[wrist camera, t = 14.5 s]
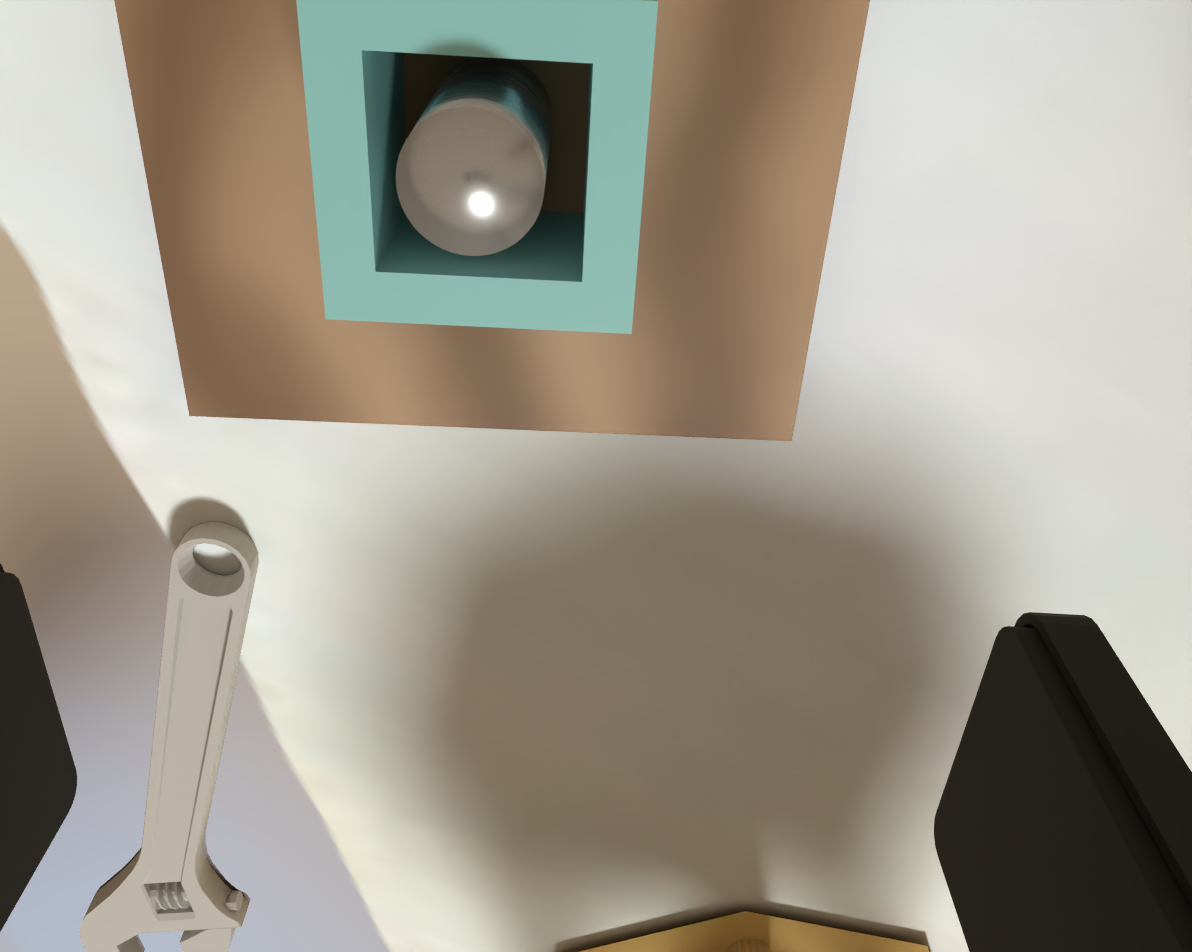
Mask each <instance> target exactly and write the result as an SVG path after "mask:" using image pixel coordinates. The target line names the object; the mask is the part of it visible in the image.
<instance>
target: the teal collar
mask: <svg viewBox="0 0 1192 952" xmlns="http://www.w3.org/2000/svg"><path fill="white" fill-rule="evenodd" d="M296 3H297V14H298V25H299V36H300V47H301V58H302V69H303V80H304V90H305V101H306V112H307V123H308V134H309V145H310V156H311V167H312V177H313V188H314V199H315V210H316V221H317V232H318V243H319V254H320V264H321V275H322V286H323V297H324V308H325V319H328V320H349V321H370V322H391V323H411V324H432V325H453V326H474V327H495V328H516V329H537V330H558V331H579V332H600V333H621V334H632V323H633V311H634V298H635V286H636V273H637V261H638V248H639V236H640V223H641V211H642V198H643V186H644V173H645V161H646V148H647V136H648V123H649V111H650V98H651V86H652V73H653V61H654V48H655V36H656V23H657V11H658V0H296ZM402 53H418V54H436V55H453V56H471V57H488V58H506V59H523V60H541V61H558V62H575V63H590V76H589V97H588V117H587V138H586V158H585V178H584V199H583V214H582V213H563V212H544V211H540V212H539V215H538V217H537V219H536V221H535V223H534V224H533V226H532V227H531V228H530V230H529V231H528V232H527V233H526V234H525V235H524V236H523V238H521V239H520V240H519V241H518V242H516V243H515V244H514V245H512V246H510V247H509V248H507V249H505V250H502V251H500V252H497V253H493V254H490V255H483V256H467V255H460V254H456V253H452V252H449V251H446V250H444V249H442V248H440V247H438V246H436V245H434V244H433V243H431V242H430V241H428V240H427V239H426V238H425V237H423V236H422V235H421V234H420V233H419V232H418V231H417V230H416V229H415V227H414V226H413V225H412V224H411V222H410V221H409V219H408V218H407V216H406V214H405V212H404V211H403V209H402V206H401V203H400V201H399V197H398V193H397V188H396V167H397V161H398V157H399V154H400V151H401V149H402V147H403V145H404V143H405V141H406V125H405V102H404V78H403V55H402Z"/></svg>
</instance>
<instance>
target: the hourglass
mask: <svg viewBox="0 0 1192 952" xmlns="http://www.w3.org/2000/svg"><path fill="white" fill-rule="evenodd" d="M580 952H929V949H928V946H926V945H920V944H915V943H910V942H905V941H899V940H894V939H889V938H884V937H878V936H873V935H868V934H863V933H858V932H852V931H847V930H842V929H837V928H831V927H826V926H821V925H816V924H810V923H805V922H800V921H795V920H789V919H784V918H779V917H774V916H769V915H763V914H758V913H753V912H748V911H744V912H740V913H736V914H732V915H728V916H723V917H719V918H715V919H711V920H707V921H703V922H699V923H695V924H691V925H686V926H682V927H678V928H674V929H670V930H666V931H662V932H658V933H654V934H649V935H645V936H641V937H637V938H633V939H629V940H625V941H621V942H617V943H612V944H608V945H604V946H600V947H596V948H592V949H588V950H584V951H580Z"/></svg>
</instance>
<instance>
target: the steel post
mask: <svg viewBox="0 0 1192 952" xmlns="http://www.w3.org/2000/svg"><path fill="white" fill-rule="evenodd" d="M552 122H553V117H552V107H551V103H550V99H549V96H548V94H547V92H546V89H545V88H544V86H543V84H542V83H541V81H540V80H539V79H538V77H537V76H536V75H535V74H534V73H533V72H532V71H531V70H530V69H529V68H527V67H526V66H525V65H524V64H522V63H520V62H518V61H517V60H514V59H506V58H488V57H471V58H469V59H467V60H464V61H462V62H461V63H459V64H458V65H456V66H455V67H454V68H453V69H452V70H451V71H450V72H449V73H448V74H447V75H446V77H445V78H444V80H443V81H442V83H441V84H440V86H439V88H438V89H437V91H436V92H435V94H434V96H433V97H432V99H431V101H430V102H429V104H428V105H427V107H426V109H425V110H424V112H423V113H422V115H421V117H420V118H419V120H418V122H417V123H416V125H415V126H414V128H413V130H412V131H411V133H410V135H409V136H408V138H407V139H406V141H405V143H404V145H403V147H402V149H401V151H400V154H399V157H398V161H397V167H396V188H397V193H398V197H399V201H400V203H401V206H402V209H403V211H404V212H405V214H406V216H407V218H408V219H409V221H410V222H411V224H412V225H413V226H414V227H415V229H416V230H417V231H418V232H419V233H420V234H421V235H422V236H423V237H425V238H426V239H427V240H428V241H430V242H431V243H433V244H434V245H436V246H438V247H440V248H442V249H444V250H446V251H449V252H452V253H456V254H460V255H467V256H483V255H490V254H493V253H497V252H500V251H502V250H505V249H507V248H509V247H510V246H512V245H514V244H515V243H516V242H518V241H519V240H520V239H521V238H523V236H524V235H525V234H526V233H527V232H528V231H529V230H530V228H531V227H532V226H533V224H534V223H535V221H536V219H537V217H538V215H539V212H540V209H541V206H542V202H543V198H544V189H545V181H546V173H547V165H548V157H549V148H550V140H551V132H552Z"/></svg>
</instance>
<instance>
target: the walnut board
mask: <svg viewBox="0 0 1192 952" xmlns="http://www.w3.org/2000/svg"><path fill="white" fill-rule="evenodd" d="M869 2H870V0H658V11H657V23H656V36H655V48H654V61H653V73H652V86H651V98H650V111H649V123H648V136H647V148H646V161H645V173H644V186H643V198H642V211H641V223H640V236H639V248H638V261H637V273H636V286H635V298H634V311H633V323H632V334H621V333H600V332H579V331H558V330H537V329H516V328H495V327H474V326H453V325H432V324H411V323H391V322H370V321H349V320H328V319H325V308H324V297H323V286H322V275H321V264H320V254H319V243H318V232H317V221H316V210H315V199H314V188H313V177H312V167H311V156H310V145H309V134H308V123H307V112H306V101H305V90H304V80H303V69H302V58H301V47H300V36H299V25H298V14H297V3H296V0H115V6H116V12H117V17H118V23H119V28H120V34H121V39H122V45H123V50H124V56H125V61H126V67H127V72H128V78H129V83H130V89H131V95H132V100H133V106H134V111H135V117H136V122H137V128H138V133H139V139H140V144H141V150H142V155H143V161H144V167H145V172H146V178H147V183H148V189H149V194H150V200H151V205H152V211H153V216H154V222H155V227H156V233H157V239H158V244H159V250H160V255H161V261H162V266H163V272H164V277H165V283H166V288H167V294H168V299H169V305H170V310H171V316H172V322H173V327H174V333H175V338H176V344H177V349H178V355H179V360H180V366H181V371H182V377H183V382H184V388H185V394H186V399H187V405H188V410H189V416H206V417H230V418H254V419H278V420H301V421H325V422H349V423H373V424H397V425H421V426H445V427H469V428H493V429H517V430H541V431H565V432H589V433H613V434H637V435H660V436H684V437H708V438H732V439H756V440H780V441H792V435H793V429H794V424H795V418H796V413H797V407H798V401H799V396H800V390H801V384H802V379H803V373H804V368H805V362H806V356H807V351H808V345H809V339H810V334H811V328H812V323H813V317H814V311H815V306H816V300H817V295H818V289H819V283H820V278H821V272H822V266H823V261H824V255H825V250H826V244H827V238H828V233H829V227H830V221H831V216H832V210H833V205H834V199H835V193H836V188H837V182H838V176H839V171H840V165H841V160H842V154H843V148H844V143H845V137H846V131H847V126H848V120H849V115H850V109H851V103H852V98H853V92H854V86H855V81H856V75H857V70H858V64H859V58H860V53H861V47H862V41H863V36H864V30H865V25H866V19H867V13H868V8H869ZM402 55H403V78H404V102H405V125H406V139H407V138H408V136H409V135H410V133H411V131H412V130H413V128H414V126H415V125H416V123H417V122H418V120H419V118H420V117H421V115H422V113H423V112H424V110H425V109H426V107H427V105H428V104H429V102H430V101H431V99H432V97H433V96H434V94H435V92H436V91H437V89H438V88H439V86H440V84H441V83H442V81H443V80H444V78H445V77H446V75H447V74H448V73H449V72H450V71H451V70H452V69H453V68H454V67H455V66H456V65H458V64H459V63H461V62H462V61H464V60H467V59H469V58H471V56H453V55H436V54H418V53H402ZM514 60H517V61H518V62H520V63H522V64H524V65H525V66H526V67H527V68H529V69H530V70H531V71H532V72H533V73H534V74H535V75H536V76H537V77H538V79H539V80H540V81H541V83H542V84H543V86H544V88H545V89H546V92H547V94H548V96H549V99H550V103H551V107H552V117H553V122H552V132H551V140H550V148H549V157H548V165H547V173H546V181H545V189H544V198H543V202H542V206H541V209H540V211H544V212H563V213H582V214H583V199H584V178H585V158H586V138H587V117H588V97H589V76H590V63H575V62H558V61H541V60H523V59H514Z"/></svg>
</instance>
